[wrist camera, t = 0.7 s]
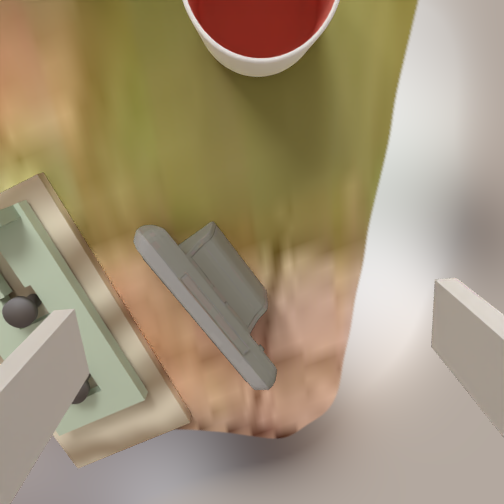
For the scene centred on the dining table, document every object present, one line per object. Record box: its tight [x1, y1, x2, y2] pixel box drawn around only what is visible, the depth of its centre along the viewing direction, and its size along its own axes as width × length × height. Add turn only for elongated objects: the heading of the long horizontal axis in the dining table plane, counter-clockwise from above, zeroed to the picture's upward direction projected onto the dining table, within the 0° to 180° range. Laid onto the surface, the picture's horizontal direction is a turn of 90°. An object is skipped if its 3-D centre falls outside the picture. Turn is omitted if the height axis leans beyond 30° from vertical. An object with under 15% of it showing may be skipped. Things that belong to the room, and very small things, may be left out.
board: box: [0, 173, 192, 468], centre depth 41 cm, size 29×14×4 cm, turn 25°
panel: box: [0, 200, 148, 436], centre depth 39 cm, size 22×10×4 cm, turn 25°
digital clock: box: [134, 221, 277, 390], centre depth 36 cm, size 16×9×11 cm, turn 24°
